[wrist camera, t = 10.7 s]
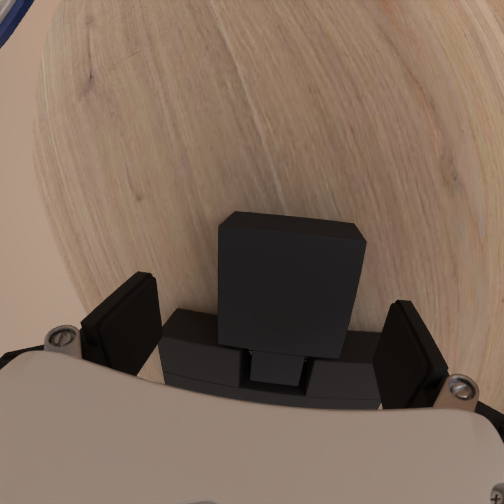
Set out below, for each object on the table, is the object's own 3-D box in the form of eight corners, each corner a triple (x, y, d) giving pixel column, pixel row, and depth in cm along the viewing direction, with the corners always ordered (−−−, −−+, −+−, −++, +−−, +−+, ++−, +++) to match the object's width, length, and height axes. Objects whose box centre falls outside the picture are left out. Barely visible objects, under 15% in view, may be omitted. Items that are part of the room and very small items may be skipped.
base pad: (190, 415, 22) (179, 441, 19) (176, 307, 18) (155, 334, 15) (343, 435, 20) (344, 464, 17) (388, 332, 16) (400, 364, 13)
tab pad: (231, 343, 18) (218, 374, 15) (234, 210, 15) (218, 225, 12) (327, 355, 18) (329, 388, 15) (354, 223, 14) (367, 241, 11)
